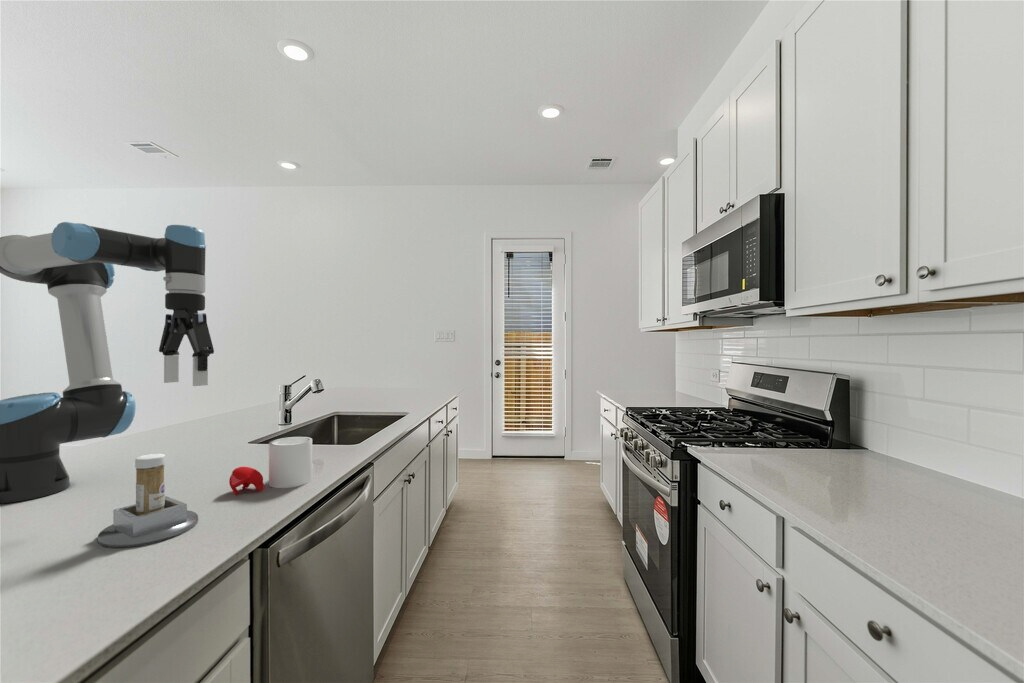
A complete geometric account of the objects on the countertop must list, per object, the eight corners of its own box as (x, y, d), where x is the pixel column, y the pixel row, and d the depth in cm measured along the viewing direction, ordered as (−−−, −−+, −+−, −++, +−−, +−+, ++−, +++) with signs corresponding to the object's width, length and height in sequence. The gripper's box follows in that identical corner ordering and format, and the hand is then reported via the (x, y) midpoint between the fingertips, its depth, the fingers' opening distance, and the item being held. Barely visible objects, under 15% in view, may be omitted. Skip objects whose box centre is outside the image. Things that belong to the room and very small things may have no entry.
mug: (266, 476, 120) (267, 437, 120) (307, 470, 126) (308, 433, 126) (269, 490, 109) (270, 447, 109) (314, 483, 114) (315, 442, 114)
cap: (220, 484, 104) (243, 470, 104) (228, 468, 109) (250, 456, 110) (244, 505, 107) (266, 492, 108) (250, 489, 113) (271, 477, 113)
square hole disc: (84, 535, 84) (84, 512, 84) (176, 509, 97) (176, 489, 97) (118, 555, 76) (118, 529, 76) (212, 524, 89) (212, 502, 89)
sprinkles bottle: (163, 525, 86) (164, 456, 86) (133, 531, 83) (133, 460, 83) (166, 517, 90) (166, 451, 90) (137, 522, 87) (137, 454, 87)
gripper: (142, 294, 106) (141, 382, 107) (194, 288, 94) (194, 388, 94) (177, 296, 113) (177, 379, 113) (231, 292, 100) (231, 385, 101)
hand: (185, 384), depth 104 cm, fingers open, 13 cm apart
